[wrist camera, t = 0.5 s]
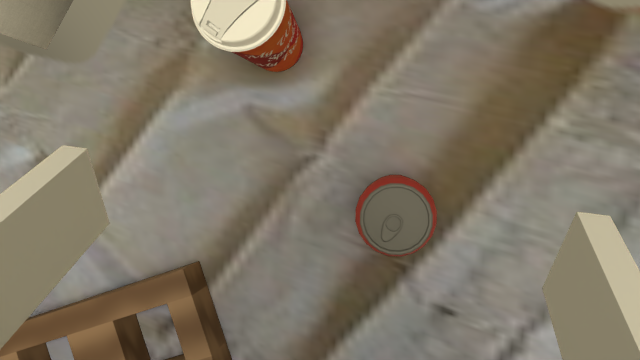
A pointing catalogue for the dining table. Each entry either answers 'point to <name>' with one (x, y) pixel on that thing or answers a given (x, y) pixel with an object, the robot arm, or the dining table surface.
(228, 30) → the paper cup
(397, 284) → the dining table surface
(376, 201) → the beer can
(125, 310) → the frame
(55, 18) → the tea bag
